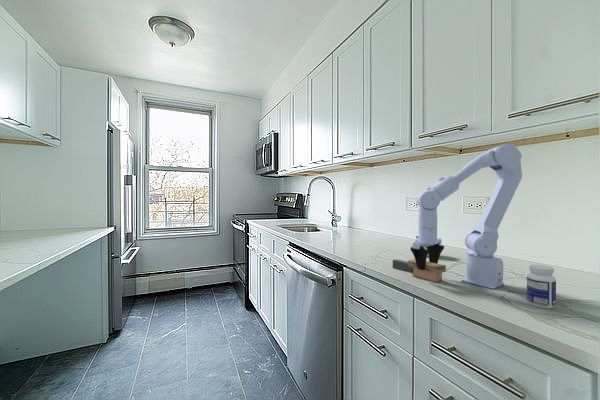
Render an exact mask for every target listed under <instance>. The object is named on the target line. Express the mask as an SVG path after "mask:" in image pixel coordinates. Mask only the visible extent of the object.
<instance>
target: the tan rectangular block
mask: <svg viewBox="0 0 600 400" xmlns="http://www.w3.org/2000/svg"><path fill="white" fill-rule="evenodd" d="M412 277H414V278H416V279H420V280H421V279H422V280H424V281H428V282H432V283H436V284H437V283H438V282H442V281H443V273H440V274H438V273H434V272H430V271H426V270H420V269H417V268H413V272H412Z"/></svg>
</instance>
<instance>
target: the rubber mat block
mask: <svg viewBox="0 0 600 400" xmlns="http://www.w3.org/2000/svg"><path fill="white" fill-rule="evenodd" d="M392 269H396V270H399V271H403V272H407V273H410V274H411V273H412V274H413V267H409V266H408V261H406V260H401V259H392Z"/></svg>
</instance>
